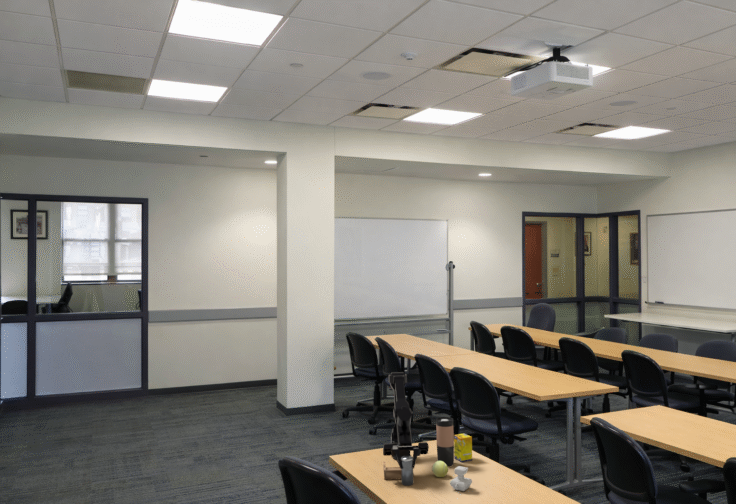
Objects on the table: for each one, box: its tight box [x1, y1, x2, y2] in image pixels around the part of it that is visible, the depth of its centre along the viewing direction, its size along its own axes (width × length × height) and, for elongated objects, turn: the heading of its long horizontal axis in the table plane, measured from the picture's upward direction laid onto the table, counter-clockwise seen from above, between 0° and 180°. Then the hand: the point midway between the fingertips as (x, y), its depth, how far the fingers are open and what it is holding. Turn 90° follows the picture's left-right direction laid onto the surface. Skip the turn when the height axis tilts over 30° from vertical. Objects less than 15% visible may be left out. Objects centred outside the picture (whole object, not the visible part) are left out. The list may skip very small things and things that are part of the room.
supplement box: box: [454, 433, 473, 463], centre depth 270 cm, size 6×6×11 cm
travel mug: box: [435, 416, 455, 468], centre depth 264 cm, size 8×8×20 cm
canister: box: [400, 455, 414, 487], centre depth 242 cm, size 5×5×10 cm
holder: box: [382, 461, 402, 481], centre depth 253 cm, size 11×11×4 cm
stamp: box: [449, 465, 473, 492], centre depth 235 cm, size 9×7×8 cm
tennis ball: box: [431, 460, 449, 478], centre depth 250 cm, size 6×7×7 cm
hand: (407, 468), depth 241 cm, fingers closed on canister, 5 cm apart
